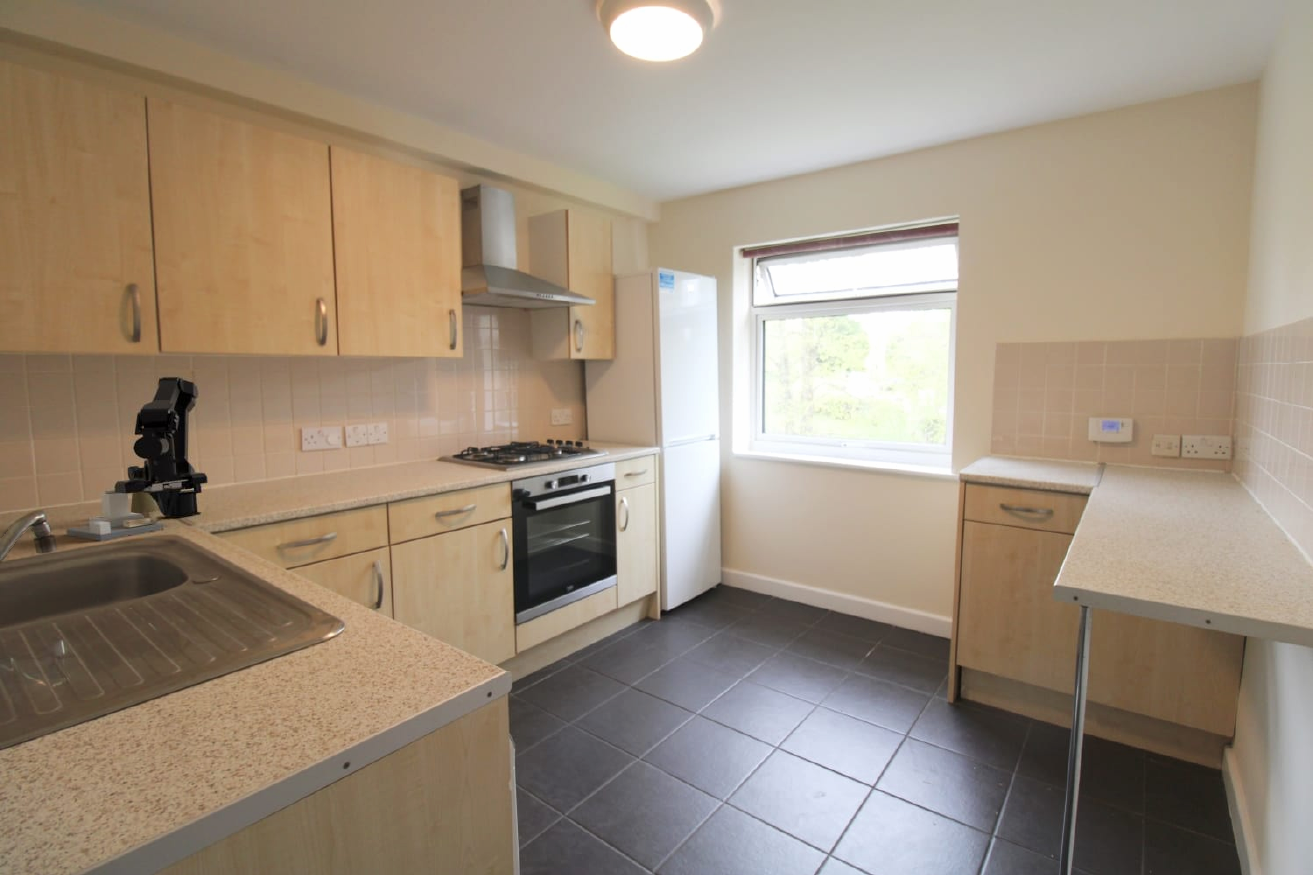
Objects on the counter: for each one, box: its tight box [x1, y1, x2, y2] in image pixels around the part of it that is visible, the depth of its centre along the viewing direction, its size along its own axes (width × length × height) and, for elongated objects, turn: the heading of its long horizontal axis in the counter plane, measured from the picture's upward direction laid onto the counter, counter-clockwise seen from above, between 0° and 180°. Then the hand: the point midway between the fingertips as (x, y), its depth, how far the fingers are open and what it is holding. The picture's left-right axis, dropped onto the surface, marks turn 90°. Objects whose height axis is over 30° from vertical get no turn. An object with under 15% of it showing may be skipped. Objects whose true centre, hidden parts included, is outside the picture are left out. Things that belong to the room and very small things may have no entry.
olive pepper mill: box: [130, 479, 158, 515], centre depth 182 cm, size 6×6×11 cm
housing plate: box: [65, 511, 165, 542], centre depth 159 cm, size 13×17×4 cm
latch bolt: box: [123, 510, 159, 527], centre depth 159 cm, size 6×3×3 cm, turn 154°
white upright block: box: [100, 489, 130, 519], centre depth 162 cm, size 4×4×9 cm
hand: (165, 515), depth 164 cm, fingers closed
